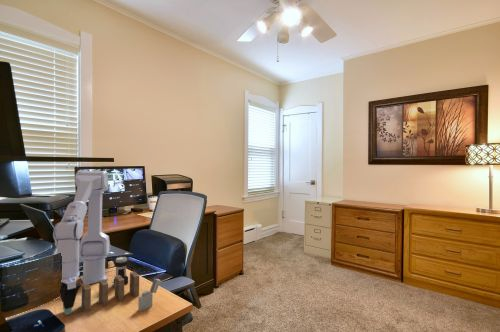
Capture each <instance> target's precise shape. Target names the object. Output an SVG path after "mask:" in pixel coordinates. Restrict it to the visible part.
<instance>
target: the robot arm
mask: <svg viewBox="0 0 500 332" xmlns="http://www.w3.org/2000/svg"><path fill="white" fill-rule="evenodd" d="M74 182H75V185H76V188H77V189H76V191H75V196H74V199H73V201H72V202H69V203H68V204H67V207H66V209H65V211H64V214H63V217H62V218H61V221H60V222H57V223H56V224H55V225H54V228H53V233H52V238H53V240H54V246H55V247H56V254H57V253H61V256H62V280H61V282H62V286H61V289H60V291H59V294H60V293H61V296H60V300H61V302H62V305H63V304H64V308H65V309H68V308H72V309H73V308H74V304H75V302H76V298H77V294H78V292H79V290H80V289H81V288H82V284H85V283H88V284H89V285H92V284H96V283H99V280H102V279H105V280H106V281H107V280H109V278H108V276H107V275H106V274H105V273H106V257H107V255H109V254H110V249H111V242H110V236H109V235H108V234H106V233H104V232H103V231H102V230H103V226H102V225H103V223H102V221H103V195H104V192H106V191H108V187H109V176H108V172H107V171H106V170H101V171H100V170H78V171H77V172H76V173H75V177H74ZM87 202H88V206H87ZM87 211H88V212H87ZM87 213H88V214H87ZM86 214H87V234H85V235H84V236H83V233H84V225H85V222H84V220H85V217H86ZM82 236H83V237H82ZM81 237H82V238H81ZM80 258H82V260H83V264H82V265H83V266H82V267H83V269H82V271H83V273H82V275H80V273H81V272H80ZM79 278H80V279H81V281H82V282H83V283H82V282H77V280H78V279H79Z"/></svg>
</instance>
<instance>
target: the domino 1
mask: <svg viewBox="0 0 500 332" xmlns="http://www.w3.org/2000/svg"><path fill="white" fill-rule="evenodd" d="M62 310H63V312H64V315H70V314H72V312H73V307H72V308H68V309H65V308H64V304H63V303H62Z"/></svg>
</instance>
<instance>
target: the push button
mask: <svg viewBox="0 0 500 332" xmlns="http://www.w3.org/2000/svg"><path fill="white" fill-rule="evenodd" d="M129 262H130V261H129V258H127V257H126V256H120V257H117V258H116V259H115V260H113V265H114V267H115V276H118V275H120V276H121V277H122V278H123V279H124V285H128V283H129V276H127V266H128V265H129ZM113 286H114V287H115V277H114V278H113V281H112V282H109V284H108V287H113Z"/></svg>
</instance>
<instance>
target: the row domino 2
mask: <svg viewBox="0 0 500 332" xmlns="http://www.w3.org/2000/svg"><path fill="white" fill-rule="evenodd" d="M98 302H99V303H100V305H101V306H102V307H106V306H108V305H109V283H108V281H107V280H105V279H102V280H99V282H98Z"/></svg>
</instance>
